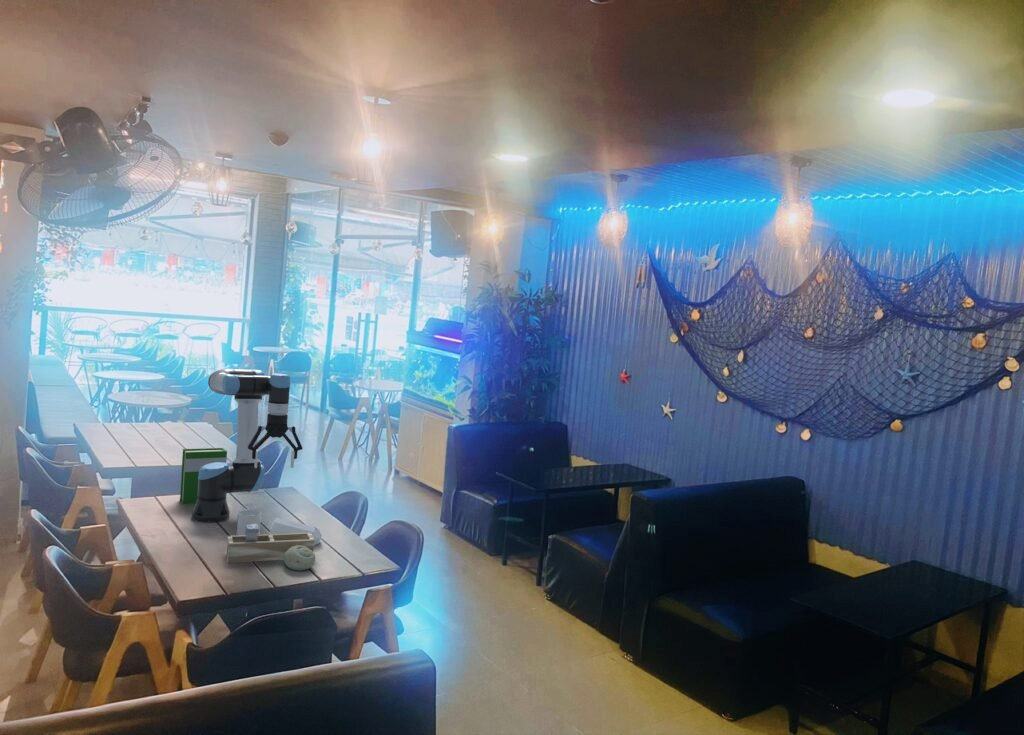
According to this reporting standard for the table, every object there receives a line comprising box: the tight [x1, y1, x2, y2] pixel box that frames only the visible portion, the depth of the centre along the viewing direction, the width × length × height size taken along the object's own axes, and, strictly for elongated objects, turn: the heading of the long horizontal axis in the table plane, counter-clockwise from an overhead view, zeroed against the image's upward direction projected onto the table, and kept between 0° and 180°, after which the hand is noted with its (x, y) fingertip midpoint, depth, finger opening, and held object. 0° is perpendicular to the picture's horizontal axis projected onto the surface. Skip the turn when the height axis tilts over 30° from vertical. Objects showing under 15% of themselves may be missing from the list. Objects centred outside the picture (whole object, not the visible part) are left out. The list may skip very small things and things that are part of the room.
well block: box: [226, 532, 315, 564], centre depth 275 cm, size 10×30×7 cm, turn 114°
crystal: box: [269, 517, 323, 546], centre depth 296 cm, size 7×7×24 cm
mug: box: [236, 508, 262, 535], centre depth 292 cm, size 12×9×11 cm
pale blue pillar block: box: [245, 524, 259, 542], centre depth 271 cm, size 6×4×11 cm, turn 24°
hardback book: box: [179, 447, 228, 505], centre depth 335 cm, size 18×7×24 cm, turn 124°
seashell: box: [283, 545, 316, 572], centre depth 268 cm, size 13×8×10 cm
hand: (274, 467), depth 283 cm, fingers open, 13 cm apart
